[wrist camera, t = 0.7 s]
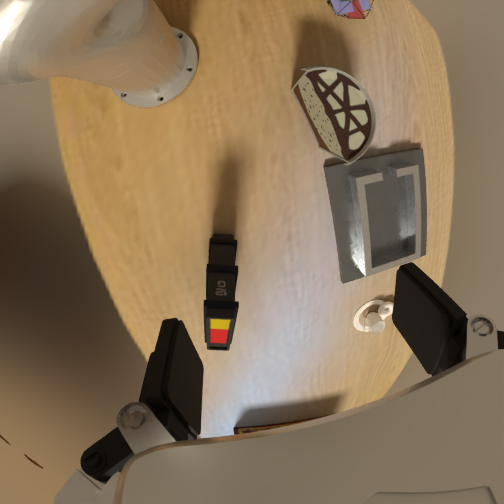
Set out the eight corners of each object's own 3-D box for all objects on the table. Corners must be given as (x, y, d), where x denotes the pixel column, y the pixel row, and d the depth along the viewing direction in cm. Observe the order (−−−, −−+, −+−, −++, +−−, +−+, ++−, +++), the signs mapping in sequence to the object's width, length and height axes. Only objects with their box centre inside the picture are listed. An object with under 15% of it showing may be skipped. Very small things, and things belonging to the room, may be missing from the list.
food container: (358, 141, 36) (394, 149, 27) (322, 157, 37) (351, 168, 28) (324, 66, 31) (353, 50, 22) (286, 80, 32) (305, 65, 23)
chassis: (323, 166, 38) (331, 170, 34) (419, 148, 37) (432, 151, 34) (341, 280, 46) (348, 291, 43) (422, 252, 46) (433, 260, 42)
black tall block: (238, 217, 38) (238, 317, 29) (231, 272, 48) (230, 355, 39) (211, 215, 38) (202, 315, 28) (209, 270, 48) (204, 353, 38)
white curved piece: (393, 294, 50) (402, 306, 46) (386, 324, 53) (394, 336, 49) (355, 302, 49) (363, 314, 46) (350, 332, 53) (357, 345, 49)
